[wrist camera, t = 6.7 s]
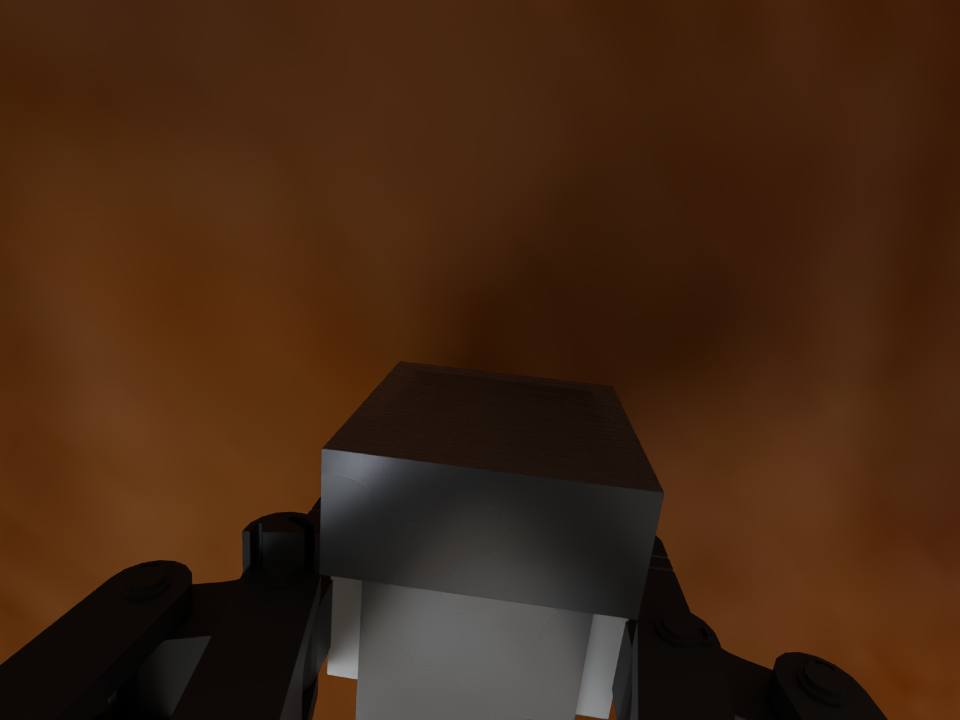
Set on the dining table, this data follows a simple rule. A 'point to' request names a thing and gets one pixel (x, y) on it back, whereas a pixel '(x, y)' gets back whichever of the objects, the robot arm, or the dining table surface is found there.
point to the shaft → (484, 538)
